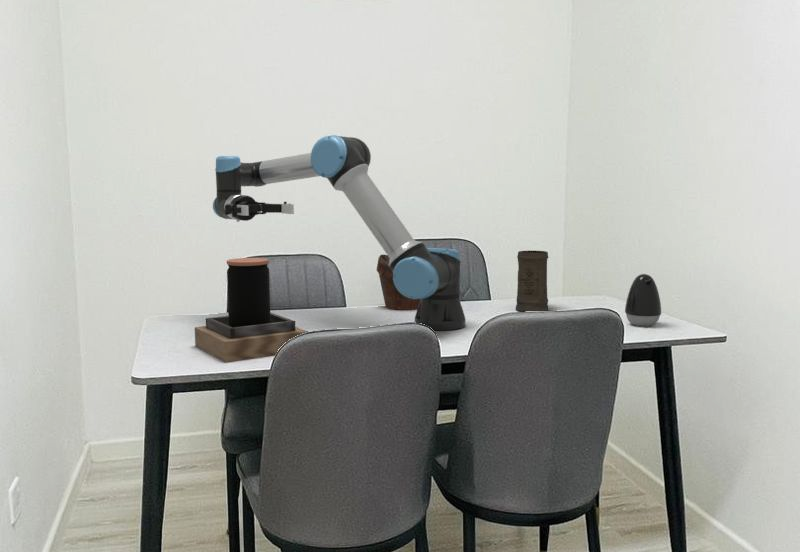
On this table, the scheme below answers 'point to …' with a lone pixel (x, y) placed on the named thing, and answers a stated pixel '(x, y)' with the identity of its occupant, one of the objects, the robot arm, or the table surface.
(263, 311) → the coffee jar
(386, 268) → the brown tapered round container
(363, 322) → the table surface
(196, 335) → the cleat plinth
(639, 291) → the black rounded piece
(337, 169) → the robot arm
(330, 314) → the table surface
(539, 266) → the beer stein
